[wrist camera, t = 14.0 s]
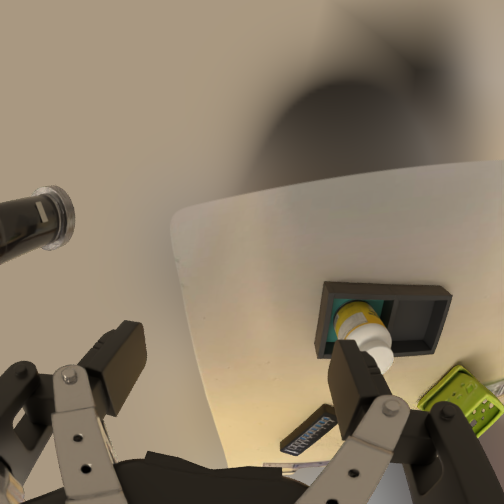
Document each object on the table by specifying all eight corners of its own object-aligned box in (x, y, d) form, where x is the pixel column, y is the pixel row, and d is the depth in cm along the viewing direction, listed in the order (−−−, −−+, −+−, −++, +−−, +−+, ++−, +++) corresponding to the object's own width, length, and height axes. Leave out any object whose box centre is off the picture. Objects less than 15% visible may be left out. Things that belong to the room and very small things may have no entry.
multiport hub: (341, 410, 47) (343, 418, 45) (296, 448, 51) (296, 456, 48) (323, 403, 46) (325, 412, 44) (279, 443, 50) (279, 451, 48)
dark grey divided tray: (314, 343, 43) (317, 358, 39) (323, 281, 40) (328, 292, 36) (424, 341, 42) (433, 354, 38) (440, 285, 39) (452, 295, 35)
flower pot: (407, 402, 46) (427, 447, 34) (457, 352, 42) (489, 391, 30) (437, 419, 47) (457, 457, 35) (481, 375, 44) (508, 410, 32)
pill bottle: (373, 330, 41) (399, 376, 30) (333, 340, 42) (349, 389, 31) (372, 293, 39) (402, 333, 28) (329, 302, 40) (347, 347, 29)
